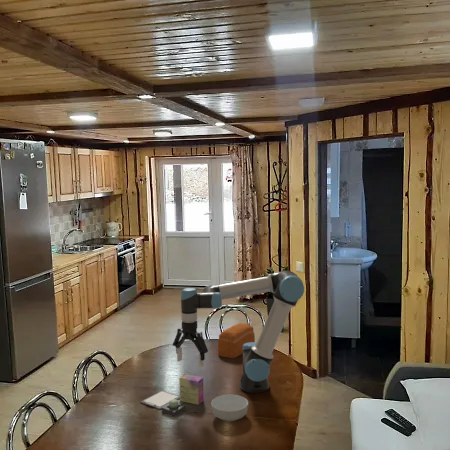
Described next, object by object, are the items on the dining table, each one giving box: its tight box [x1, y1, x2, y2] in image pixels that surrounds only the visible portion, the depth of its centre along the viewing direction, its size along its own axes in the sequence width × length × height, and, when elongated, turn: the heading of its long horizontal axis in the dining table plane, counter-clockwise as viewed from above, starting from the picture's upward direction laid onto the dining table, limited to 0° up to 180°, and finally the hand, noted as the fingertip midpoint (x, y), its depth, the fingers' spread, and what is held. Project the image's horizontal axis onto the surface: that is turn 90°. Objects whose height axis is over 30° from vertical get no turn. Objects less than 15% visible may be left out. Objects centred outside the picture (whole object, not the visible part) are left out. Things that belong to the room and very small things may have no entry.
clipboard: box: [140, 390, 180, 411], centre depth 236 cm, size 13×15×1 cm
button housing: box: [161, 402, 187, 418], centre depth 225 cm, size 8×8×2 cm
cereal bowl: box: [210, 394, 249, 422], centre depth 218 cm, size 17×17×7 cm
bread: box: [217, 322, 256, 359], centre depth 302 cm, size 14×26×16 cm, turn 147°
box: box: [179, 373, 205, 406], centre depth 235 cm, size 10×6×12 cm, turn 65°
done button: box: [169, 399, 179, 409], centre depth 224 cm, size 4×4×2 cm
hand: (190, 363), depth 233 cm, fingers open, 13 cm apart
